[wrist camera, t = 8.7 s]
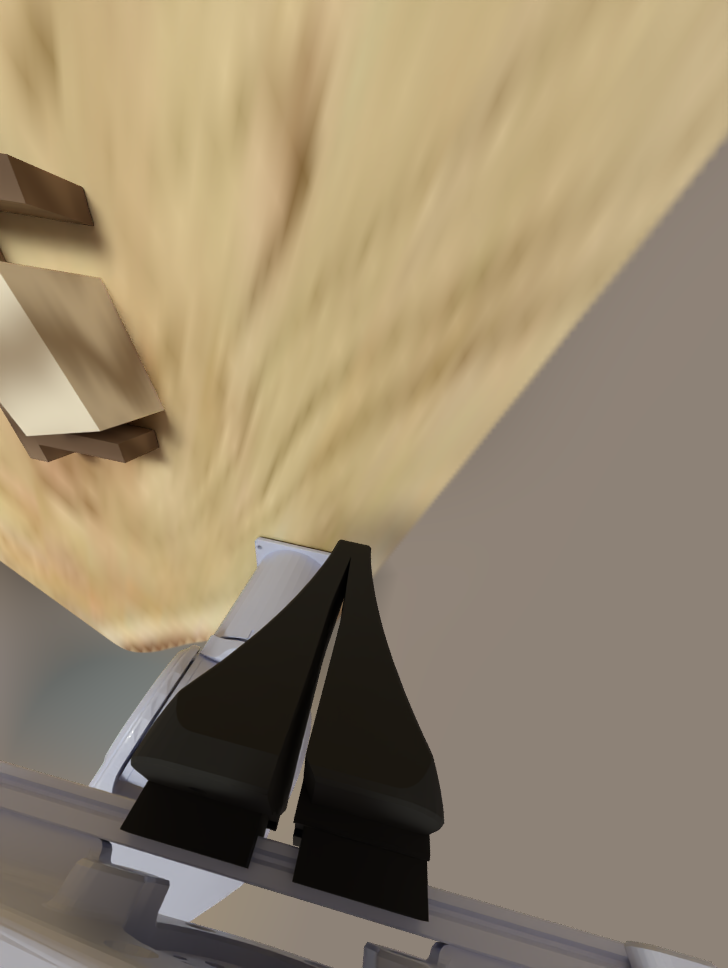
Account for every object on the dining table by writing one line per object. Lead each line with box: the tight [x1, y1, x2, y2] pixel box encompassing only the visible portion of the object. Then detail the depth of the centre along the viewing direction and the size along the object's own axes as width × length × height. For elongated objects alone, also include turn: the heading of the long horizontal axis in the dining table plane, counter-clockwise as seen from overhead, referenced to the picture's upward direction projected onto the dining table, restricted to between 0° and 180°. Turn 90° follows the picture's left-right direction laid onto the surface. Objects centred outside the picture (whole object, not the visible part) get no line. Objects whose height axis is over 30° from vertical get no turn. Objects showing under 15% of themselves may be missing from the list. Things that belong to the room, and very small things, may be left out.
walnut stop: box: [0, 153, 159, 463], centre depth 17 cm, size 18×8×3 cm, turn 172°
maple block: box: [0, 261, 165, 436], centre depth 16 cm, size 8×6×5 cm
